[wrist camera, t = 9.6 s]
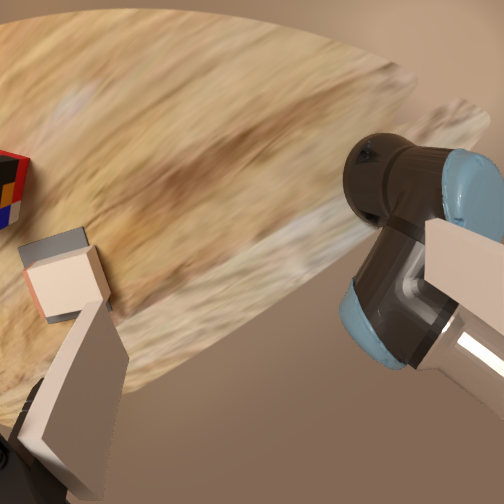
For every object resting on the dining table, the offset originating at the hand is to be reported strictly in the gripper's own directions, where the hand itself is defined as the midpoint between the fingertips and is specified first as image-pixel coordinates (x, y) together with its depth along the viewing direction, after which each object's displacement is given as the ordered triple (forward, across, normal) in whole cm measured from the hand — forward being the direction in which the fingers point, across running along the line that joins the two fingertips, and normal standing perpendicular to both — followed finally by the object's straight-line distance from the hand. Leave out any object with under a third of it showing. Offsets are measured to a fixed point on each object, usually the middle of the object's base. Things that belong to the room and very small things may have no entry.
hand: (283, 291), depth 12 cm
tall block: (+32, +20, +8) cm, 39 cm away
